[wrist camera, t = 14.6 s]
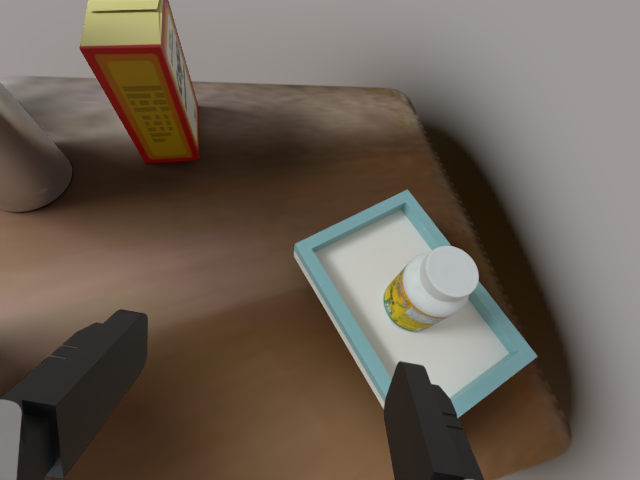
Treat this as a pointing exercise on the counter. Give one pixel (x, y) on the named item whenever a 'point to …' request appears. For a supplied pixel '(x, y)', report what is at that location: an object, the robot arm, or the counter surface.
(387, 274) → the shallow teal tray
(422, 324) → the supplement bottle
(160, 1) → the baking soda box
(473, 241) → the counter surface
